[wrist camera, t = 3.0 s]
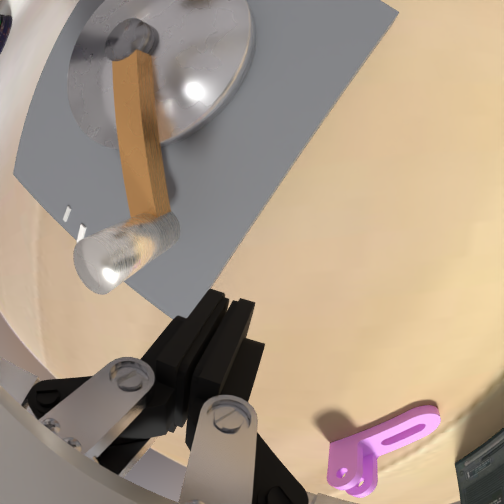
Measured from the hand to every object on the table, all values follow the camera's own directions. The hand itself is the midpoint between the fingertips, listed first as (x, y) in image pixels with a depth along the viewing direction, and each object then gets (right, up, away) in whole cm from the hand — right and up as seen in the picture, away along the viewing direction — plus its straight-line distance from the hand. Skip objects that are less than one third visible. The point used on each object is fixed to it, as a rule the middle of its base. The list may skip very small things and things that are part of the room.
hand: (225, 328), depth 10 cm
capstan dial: (-5, +13, +5) cm, 15 cm away
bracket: (+17, -18, +15) cm, 29 cm away
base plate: (-7, +15, +8) cm, 19 cm away
